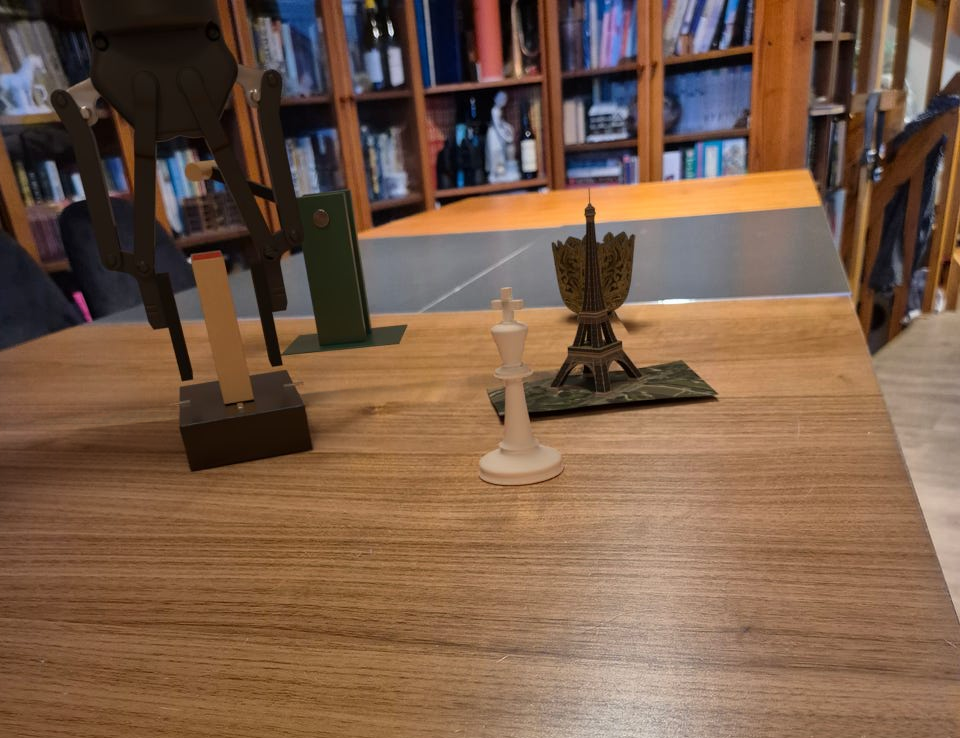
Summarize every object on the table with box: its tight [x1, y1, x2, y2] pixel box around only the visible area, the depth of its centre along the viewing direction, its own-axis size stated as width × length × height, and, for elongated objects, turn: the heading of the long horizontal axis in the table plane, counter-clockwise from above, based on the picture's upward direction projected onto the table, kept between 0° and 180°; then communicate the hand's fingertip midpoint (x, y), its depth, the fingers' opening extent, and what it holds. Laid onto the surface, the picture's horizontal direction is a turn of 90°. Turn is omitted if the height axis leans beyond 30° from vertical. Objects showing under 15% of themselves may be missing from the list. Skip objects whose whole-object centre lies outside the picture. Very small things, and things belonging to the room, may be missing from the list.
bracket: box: [281, 188, 408, 357], centre depth 86 cm, size 11×9×14 cm
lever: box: [184, 159, 275, 204], centre depth 83 cm, size 13×8×2 cm, turn 89°
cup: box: [551, 230, 636, 322], centre depth 85 cm, size 8×7×8 cm
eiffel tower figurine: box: [486, 187, 720, 416], centre depth 63 cm, size 15×10×13 cm
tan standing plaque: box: [190, 250, 254, 404], centre depth 62 cm, size 5×2×9 cm, turn 16°
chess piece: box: [478, 286, 565, 486], centre depth 51 cm, size 5×5×10 cm
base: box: [168, 369, 314, 472], centre depth 65 cm, size 12×9×3 cm
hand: (231, 368), depth 64 cm, fingers open, 5 cm apart
